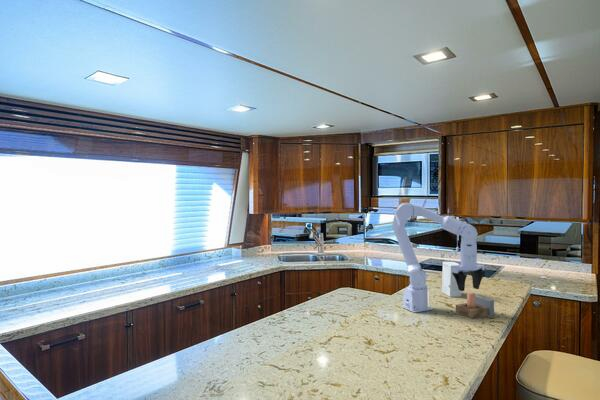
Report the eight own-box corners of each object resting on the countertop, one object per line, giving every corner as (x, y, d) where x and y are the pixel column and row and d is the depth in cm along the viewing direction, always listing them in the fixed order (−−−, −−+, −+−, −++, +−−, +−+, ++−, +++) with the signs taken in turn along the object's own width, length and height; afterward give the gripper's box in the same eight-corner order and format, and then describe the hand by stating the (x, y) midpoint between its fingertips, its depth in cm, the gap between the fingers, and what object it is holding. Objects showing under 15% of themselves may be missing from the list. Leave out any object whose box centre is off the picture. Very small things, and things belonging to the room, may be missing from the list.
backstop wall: (490, 316, 138) (490, 300, 138) (469, 308, 147) (469, 294, 147) (494, 315, 138) (493, 300, 138) (472, 308, 148) (472, 293, 148)
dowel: (471, 315, 139) (471, 295, 139) (465, 313, 142) (465, 293, 142) (477, 314, 140) (477, 294, 140) (471, 312, 143) (470, 292, 143)
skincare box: (441, 292, 172) (441, 261, 172) (453, 292, 173) (453, 261, 173) (450, 297, 164) (450, 264, 164) (463, 296, 164) (462, 264, 164)
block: (472, 318, 136) (472, 310, 136) (455, 312, 143) (455, 304, 143) (487, 315, 139) (487, 308, 139) (470, 309, 146) (470, 302, 146)
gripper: (462, 258, 135) (462, 294, 135) (490, 255, 140) (490, 290, 141) (448, 255, 142) (448, 289, 142) (476, 252, 147) (476, 285, 147)
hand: (468, 289), depth 142 cm, fingers open, 7 cm apart
